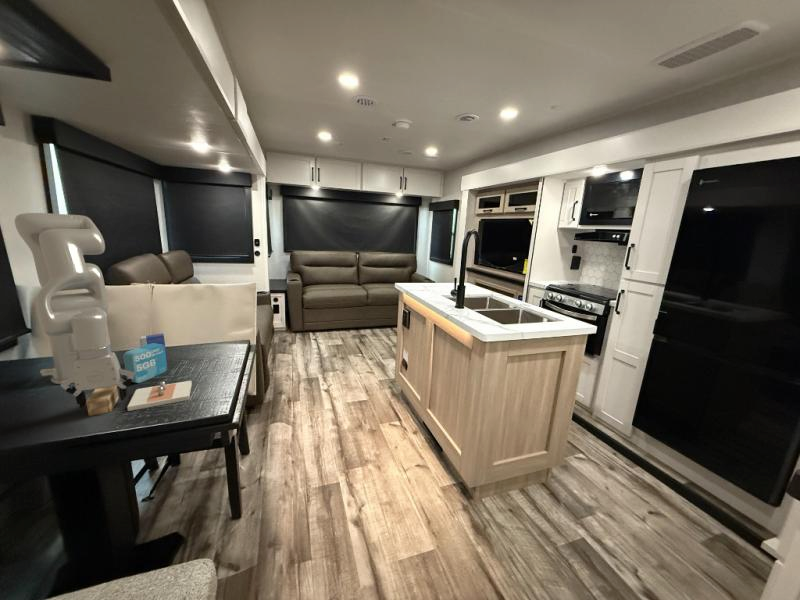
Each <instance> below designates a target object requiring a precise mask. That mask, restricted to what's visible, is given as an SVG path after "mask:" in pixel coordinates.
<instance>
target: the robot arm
mask: <svg viewBox="0 0 800 600" xmlns="http://www.w3.org/2000/svg"><path fill="white" fill-rule="evenodd" d="M14 225H15V229H16V230H17V232H18V234H19V237H21V239H22V240H23V242H24V243H25V244H26V245H27V246H28V248H29V249H30V251H31V253H32V257H33V261H34V265H35V270H36V274H37V279H38V281H39V284H40V287H41V289H40V290H39V291H38V293H37V296H36V299H35V310H36V313H37V316H38V321H39V323H40V327H41V329H42V331H43V333H44V334H46V335H47V336H48V340H49V344H50V349H51V354H52V358H53V364H54V367H53V368H44V369H40V371H39V374H40V375H41V377H48V376H51V378H50V381H51V383H52V384H55V385H56V384H57V385H60V387H62V389H63V390H65V392H66V393H69V394H71V395H72V396H73V397H75V401H76V404H77V405H79V406H78V407H79V408H84V406H85V405H87V404H86V401H87V397H86V392H85V391H90V390H95V389H99V388H105V387H111V386H115V385H117V388H119V389H118V393H119V396H120V397H119V399H120V400H121V401H125V399H126V397H128V395H129V391H128V386H129V385H130V384H131V383H133V382H132V380H133V378H134V376H135V374H136V373H135V372H132V371H127V370H125V369H122V368H121V365H120V362H119V359H118V356H117V355H116V353H115V352H114V351H112V344H111V338H110V334H109V333H110V332H109V327H108V315H107V313H108V311H109V301H108V295H107V290H106V286H105V279H104V276H103V272H102V270H101V269H100V266H98V265H96V264H94V263H90V262H86V261H85V258H84V255H85V256H86V255H91V256H92V255H93V256H94V255H95V256H96V255H101V254H104V252H105V250H106V244H105V239H104V237H103V235H102V233H101V232H100V229H99V228H98V227H97V226H96V224H95V223H94V222H93V220H92V219H91V218H90V217H88V216H87V215H82V214H81V215H80V214H65V213H64V214H62V213H50V212H49V213H48V212H47V213H46V212H25V213H20V214H18V215H16V216H15V218H14ZM76 290H77V291H78V290H87V291H88V292H87V291H85V292H76V293H64V294H56V293H57V292H65V291H66V292H67V291H76ZM123 376H125V377H126V376H128V377H129V378H128V379H127V378H126V380H125V379H123ZM71 384H74V386H72V385H71Z"/></svg>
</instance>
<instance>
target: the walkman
mask: <svg viewBox="0 0 800 600" xmlns="http://www.w3.org/2000/svg"><path fill="white" fill-rule="evenodd" d="M139 343H140V347H142V346H145V345H148V344H151V343H156V344H162V345H164V347H165V355H166V361H168V358H167V350H166V342H165V335H164V333H161V332H160V333H159V332H158V333H156V334H150V335H144V336H143V335H142V336H140V338H139Z"/></svg>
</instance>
